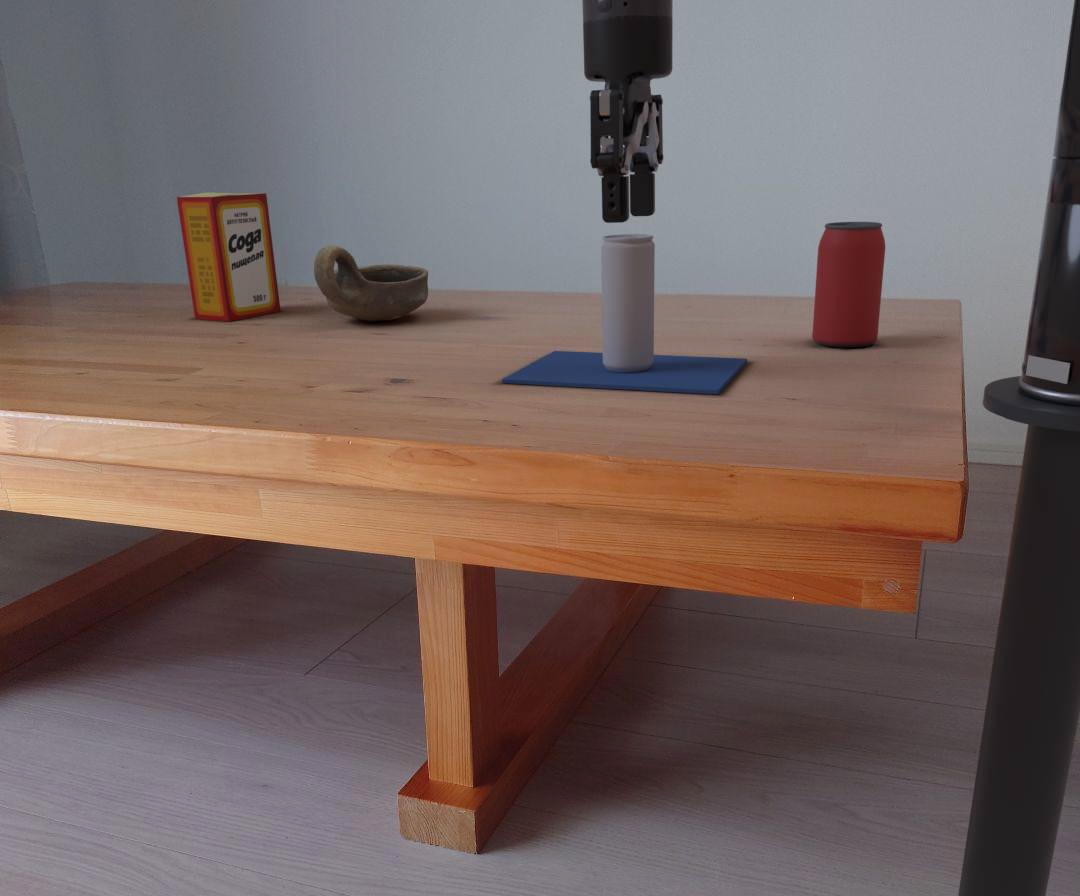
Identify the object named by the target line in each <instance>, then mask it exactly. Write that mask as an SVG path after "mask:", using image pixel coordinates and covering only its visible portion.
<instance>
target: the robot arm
mask: <svg viewBox="0 0 1080 896" xmlns="http://www.w3.org/2000/svg"><path fill="white" fill-rule="evenodd" d="M581 4H582V34H583V35H582V36H583V37H582V38H583V39H582V40H583V43H582V44H583V75H584V77H585V79H586V80H588V81H589V82H595V83H597V82H598V83H605V84H604V89H592V90H591V91H590V94H589V102H590V103H589V104H590V108H589V109H590V110H589V111H590V115H589V116H590V120H589V121H590V123H589V124H590V167H591V168H592V169H595V170H596V169H597V174H598V176H599V177H601V218H602V220H603V222H604V223H606V224H614V223H615V224H617V223H622V224H623V223H625V222H627V221H628V220H629V218H630V215H631V216H632V217H650V216H652V215H654V214H655V213H656V173H657V172H658V169H659V165H662V164H663V162H664V148H663V147H664V146H663V143H664V140H663V139H664V138H663V137H664V136H663V104H664V101H663V97H662V94H652V89H651V82H652V80H655V79H657V80H658V79H664V78H667V77H669V76H670V75H671V74H672V72H673V39H674V38H673V31H674V30H673V26H674V25H673V23H674V21H673V19H674V18H673V12H674V11H673V9H674V8H673V5H674V4H673V0H582V3H581ZM1065 58H1066V59H1065V66H1064V72H1063V80H1062V87H1061V93H1060V98H1059V105H1058V111H1057V112H1058V114H1057V120H1056V129H1055V137H1054V145H1053V146H1054V147H1053V151H1052V152H1053V153H1052V157H1053V158H1052V159H1051V166H1050V174H1049V180H1048V187H1047V194H1046V199H1045V200H1046V202H1045V207H1044V216H1043V221H1042V228H1041V229H1042V230H1041V235H1040V241H1039V250H1038V257H1037V264H1036V270H1035V271H1036V272H1035V278H1034V286H1033V292H1032V299H1031V306H1030V312H1029V313H1030V314H1029V320H1028V325H1027V334H1026V340H1025V347H1024V348H1025V349H1024V356H1023V360H1022V366H1021V375H1020V376H1021V377H1020V379H1019V386H1018V391H1019V392H1020V393H1021V394H1023V395H1025V396H1027V397H1030V398H1032V399H1035V400H1039V401H1043V402H1048V403H1053V404H1059V405H1066V406H1075V407H1080V0H1073V7H1072V15H1071V22H1070V30H1069V35H1068V44H1067V50H1066V56H1065ZM629 172H630V173H631V174H629Z"/></svg>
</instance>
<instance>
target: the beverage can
mask: <svg viewBox="0 0 1080 896" xmlns="http://www.w3.org/2000/svg"><path fill="white" fill-rule="evenodd" d="M653 239H654V235H653V234H652V235H651V234H645V233H629V234H627V233H626V234H624V233H623V234H611V235H604V236H603V237H602V240H603V243H601V248H600V249H601V250H600V253H601V256H600V257H601V259H600V260H601V261H600V262H601V308H602V309H601V311H602V314H601V315H602V316H601V317H602V319H601V320H602V353H603V364H604V366H605V367H606V369H607V370H609V371H612V372H620V373H632V372H641V371H645V370H648V369H649V368H650V367H651V366H652V364H653V361H654V355H655V354H654V353H655V351H654V350H655V349H654V347H655V342H654V341H655V338H654V337H655V249H656V247H655V246H656V245H655V242H654V241H653Z"/></svg>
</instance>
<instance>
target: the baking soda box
mask: <svg viewBox="0 0 1080 896" xmlns="http://www.w3.org/2000/svg"><path fill="white" fill-rule="evenodd" d="M176 203H177V209H178V215H179V223H180V228H181V235H182V240H183V241H182V242H183V249H184V255H185V260H186V267H187V275H188V280H189V288H190V294H191V301H192V308H193V313H194V314H193V315H194V319H195V320H206V321H217V322H233V321H239V320H244V319H249V318H253V317H259V316H263V315H268V314H273V313H279V312H281V303H280V302H281V301H280V294H279V287H278V278H277V277H278V276H277V271H276V262H275V254H274V245H273V237H272V230H271V220H270V211H269V204H268V196H267V193H266V192H259V193H258V192H256V193H255V192H253V193H251V192H247V193H244V192H243V193H242V192H241V193H239V192H238V193H236V192H235V193H234V192H201V193H194V194H189V195H182V196H177V197H176Z"/></svg>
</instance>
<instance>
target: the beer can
mask: <svg viewBox="0 0 1080 896" xmlns="http://www.w3.org/2000/svg"><path fill="white" fill-rule="evenodd" d="M882 227H883V223H882V222H877V221H837V222H828V223H825V225H824V228H825V229H824V230H823V233H822V234H821V238H820V239H819V243H818V247H817V259H816V274H815V289H814V290H815V291H814V306H813V321H812V335H811V336H812V337H811V338H812V340H813V341H814V342H815V343H816V344H818V345H819V346H823V347H828V348H836V349H838V348H839V349H857V348H864V347H869V346H870V345H873V344H874V343H876V342H877V340H878V337H879V324H880V323H879V322H880V315H881V314H880V313H881V303H882V302H881V301H882V291H883V279H884V268H885V257H886V240H885V236H884V233H883V229H882Z"/></svg>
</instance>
